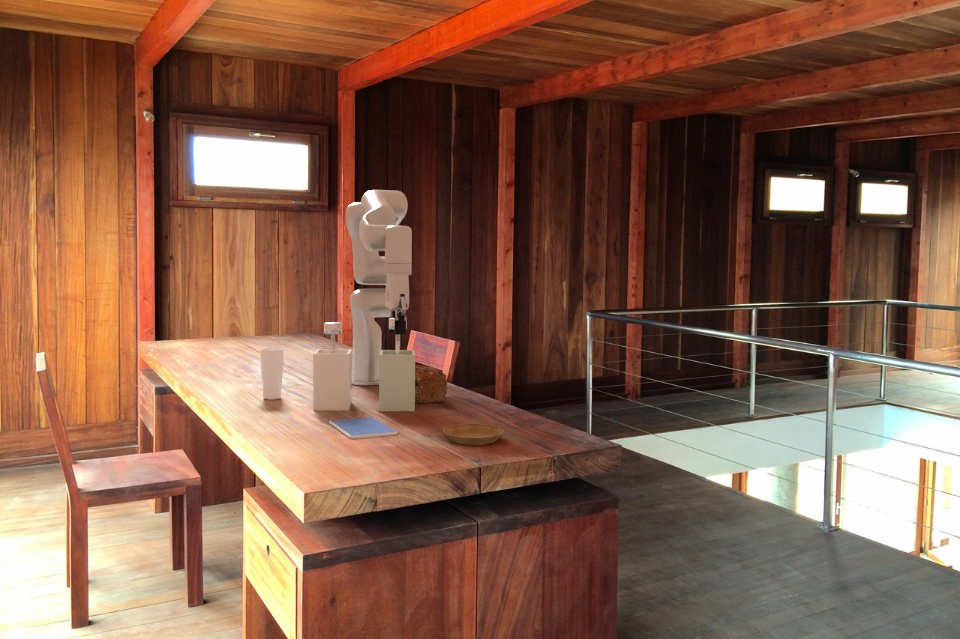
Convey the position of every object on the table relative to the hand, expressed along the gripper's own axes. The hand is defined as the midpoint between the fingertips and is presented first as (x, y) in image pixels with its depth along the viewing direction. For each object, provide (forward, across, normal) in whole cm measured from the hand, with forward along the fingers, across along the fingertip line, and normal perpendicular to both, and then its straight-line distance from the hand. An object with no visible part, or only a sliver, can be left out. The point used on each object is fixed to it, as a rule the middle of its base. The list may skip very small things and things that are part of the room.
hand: (397, 332), depth 231 cm
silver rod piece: (+17, 0, 0) cm, 17 cm away
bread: (+22, -13, +10) cm, 28 cm away
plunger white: (+18, -6, -17) cm, 26 cm away
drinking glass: (+22, -23, -33) cm, 45 cm away
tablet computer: (+23, +22, -15) cm, 35 cm away
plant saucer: (+22, +41, +9) cm, 48 cm away
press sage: (+22, 0, 0) cm, 22 cm away
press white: (+22, -6, -17) cm, 29 cm away
